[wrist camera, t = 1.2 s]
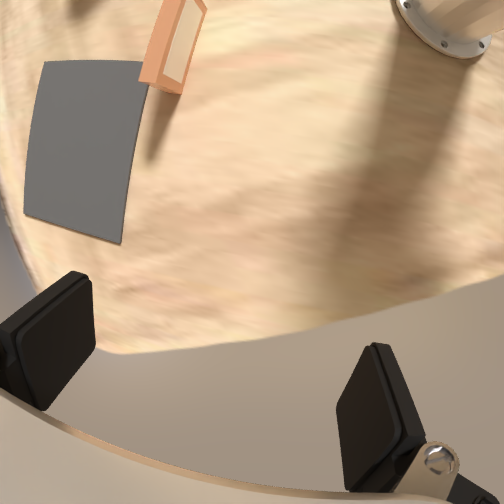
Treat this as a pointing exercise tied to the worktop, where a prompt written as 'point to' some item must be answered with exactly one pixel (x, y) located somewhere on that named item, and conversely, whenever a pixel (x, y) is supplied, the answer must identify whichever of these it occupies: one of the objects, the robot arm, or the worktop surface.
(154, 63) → the block
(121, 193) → the mat
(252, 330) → the worktop surface
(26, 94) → the worktop surface
